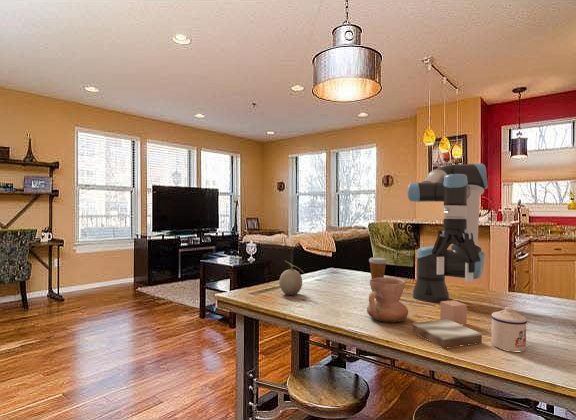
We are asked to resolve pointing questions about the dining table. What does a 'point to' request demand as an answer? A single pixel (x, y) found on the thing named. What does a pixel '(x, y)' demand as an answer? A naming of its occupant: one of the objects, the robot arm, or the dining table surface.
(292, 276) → the fruit
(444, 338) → the plinth
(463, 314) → the block
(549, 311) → the dining table surface
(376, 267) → the disposable coffee cup
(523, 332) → the teacup with lid
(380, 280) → the ceramic jug
